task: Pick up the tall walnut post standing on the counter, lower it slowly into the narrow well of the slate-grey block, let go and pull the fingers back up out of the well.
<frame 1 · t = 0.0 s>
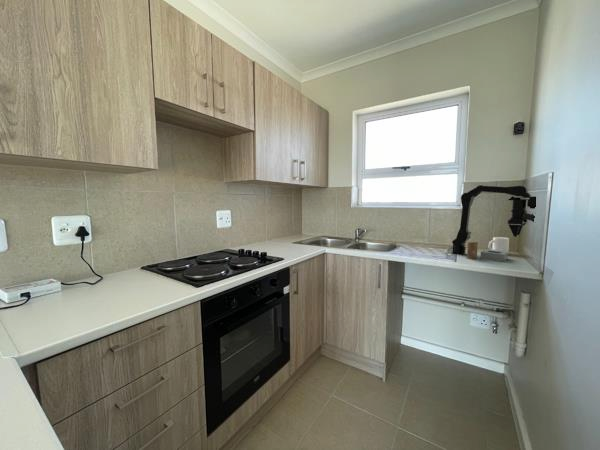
hand: (516, 235, 139), 15 cm above the table, tool pointing down, fingers open, 9 cm apart
walnut post: (471, 258, 148), on the table
mug: (497, 253, 161), on the table
well block: (494, 258, 147), on the table
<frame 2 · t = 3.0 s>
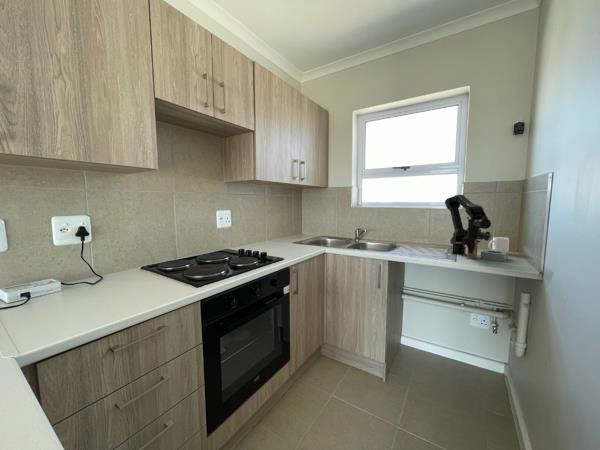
hand: (472, 252, 148), 4 cm above the table, tool pointing down, fingers closed on walnut post, 4 cm apart
walnut post: (471, 258, 148), on the table, touching gripper
everything else where it was.
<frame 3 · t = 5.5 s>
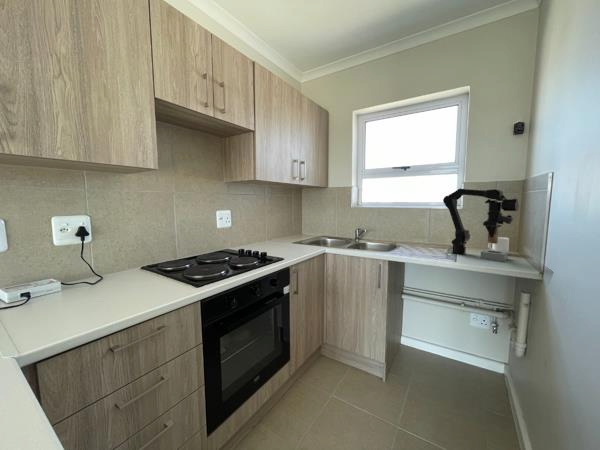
hand: (492, 237, 146), 13 cm above the table, tool pointing down, fingers closed on walnut post, 4 cm apart
walnut post: (492, 242, 146), point 10 cm above the table, touching gripper
everything else where it was.
when the fingers open (5 cm above the table, at t = 8.3 s): walnut post drops 1 cm, resting in well block.
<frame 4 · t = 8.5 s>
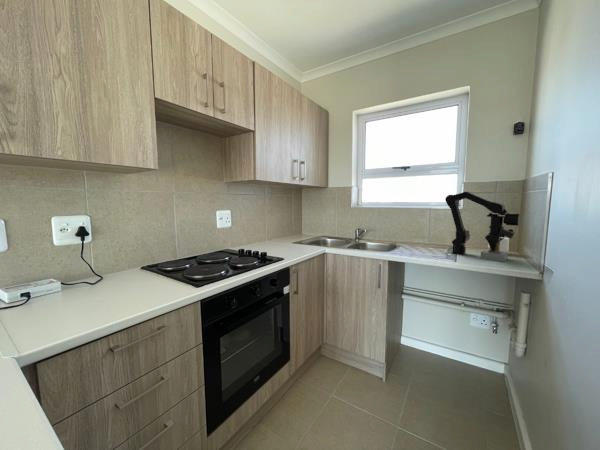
hand: (494, 250, 147), 5 cm above the table, tool pointing down, fingers open, 6 cm apart
walnut post: (493, 258, 147), resting in well block
everything else where it was.
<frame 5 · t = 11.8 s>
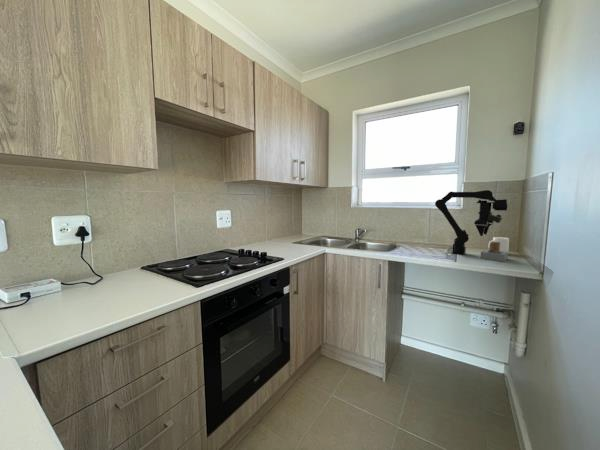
hand: (483, 235, 154), 13 cm above the table, tool pointing down, fingers open, 9 cm apart
nothing on the table moved.
at the end: walnut post 0.0 cm off-centre on the well block, point 0.0 cm above the well block's base; walnut post tilted 0°; the gripper is holding nothing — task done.
